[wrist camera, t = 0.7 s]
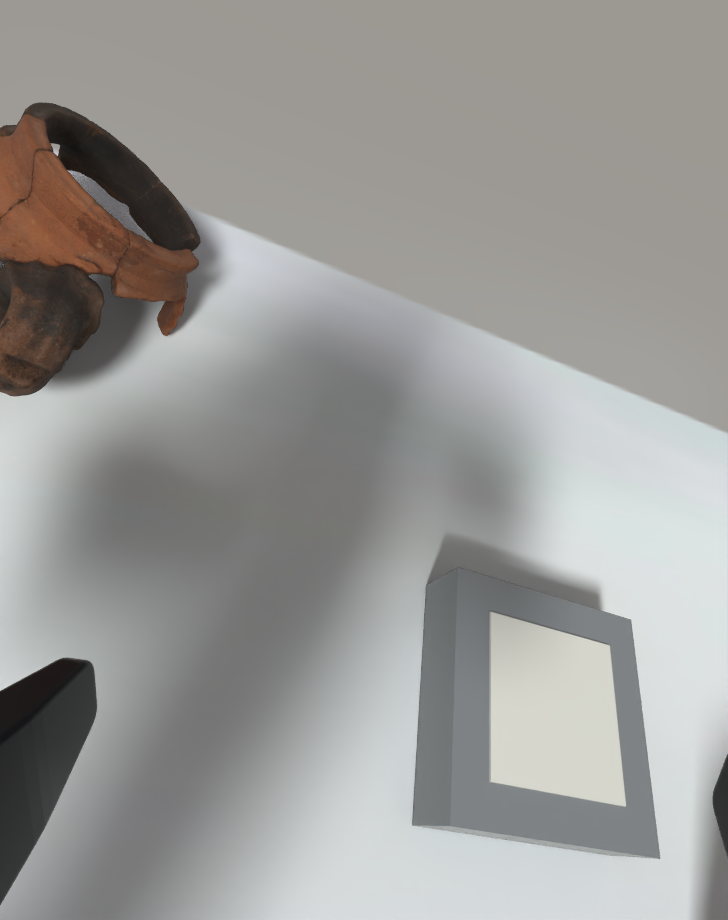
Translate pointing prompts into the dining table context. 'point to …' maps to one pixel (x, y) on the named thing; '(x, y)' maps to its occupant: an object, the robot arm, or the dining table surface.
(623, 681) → the base tile
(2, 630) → the dining table surface
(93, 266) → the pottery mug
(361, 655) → the dining table surface
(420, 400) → the dining table surface
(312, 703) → the dining table surface
